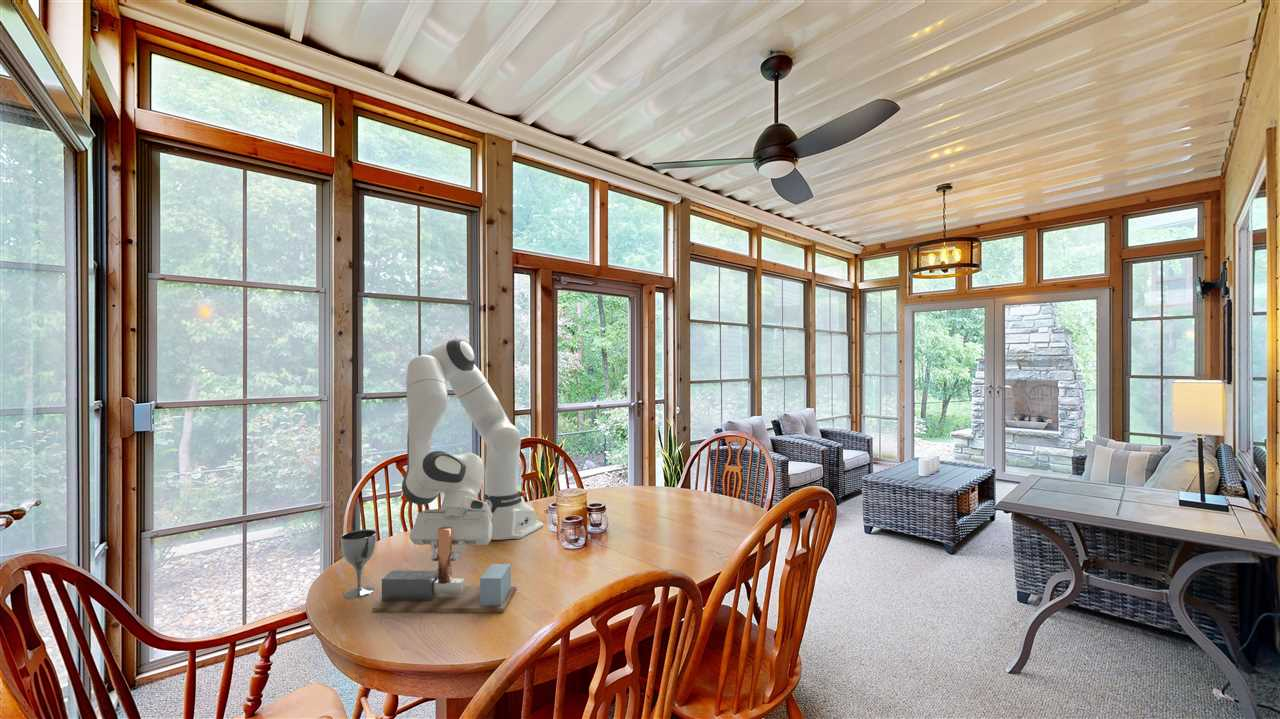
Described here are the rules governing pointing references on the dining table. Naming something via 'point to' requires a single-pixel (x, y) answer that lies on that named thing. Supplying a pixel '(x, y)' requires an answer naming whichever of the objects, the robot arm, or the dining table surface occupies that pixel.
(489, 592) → the socket block
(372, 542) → the wine glass
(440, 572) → the upright copper peg
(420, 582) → the graphite sleeve
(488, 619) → the dining table surface
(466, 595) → the walnut board
